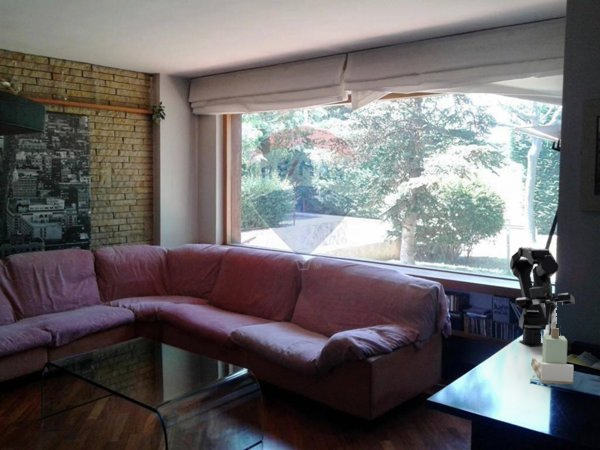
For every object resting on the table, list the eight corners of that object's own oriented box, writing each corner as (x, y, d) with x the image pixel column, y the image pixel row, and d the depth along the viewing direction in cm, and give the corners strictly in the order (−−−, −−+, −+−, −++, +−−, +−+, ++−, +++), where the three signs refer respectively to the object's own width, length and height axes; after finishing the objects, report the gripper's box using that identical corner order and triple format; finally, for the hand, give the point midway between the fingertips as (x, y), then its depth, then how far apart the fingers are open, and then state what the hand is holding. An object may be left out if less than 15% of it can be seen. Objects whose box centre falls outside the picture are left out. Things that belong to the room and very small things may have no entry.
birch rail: (531, 364, 184) (531, 357, 183) (559, 366, 182) (559, 359, 181) (541, 382, 167) (541, 375, 167) (572, 385, 165) (573, 377, 165)
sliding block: (541, 371, 174) (543, 325, 172) (561, 372, 172) (563, 326, 171) (545, 376, 169) (546, 329, 168) (565, 378, 168) (567, 331, 166)
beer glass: (564, 339, 212) (566, 302, 211) (546, 339, 212) (548, 302, 211) (556, 334, 219) (558, 298, 218) (539, 334, 219) (540, 298, 218)
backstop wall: (540, 378, 168) (541, 362, 168) (571, 380, 166) (572, 364, 166) (541, 379, 167) (542, 364, 167) (573, 382, 165) (573, 366, 165)
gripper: (508, 279, 194) (511, 322, 189) (563, 272, 183) (568, 318, 177) (519, 287, 202) (522, 328, 196) (572, 280, 191) (578, 324, 185)
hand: (546, 324), depth 188 cm, fingers closed
